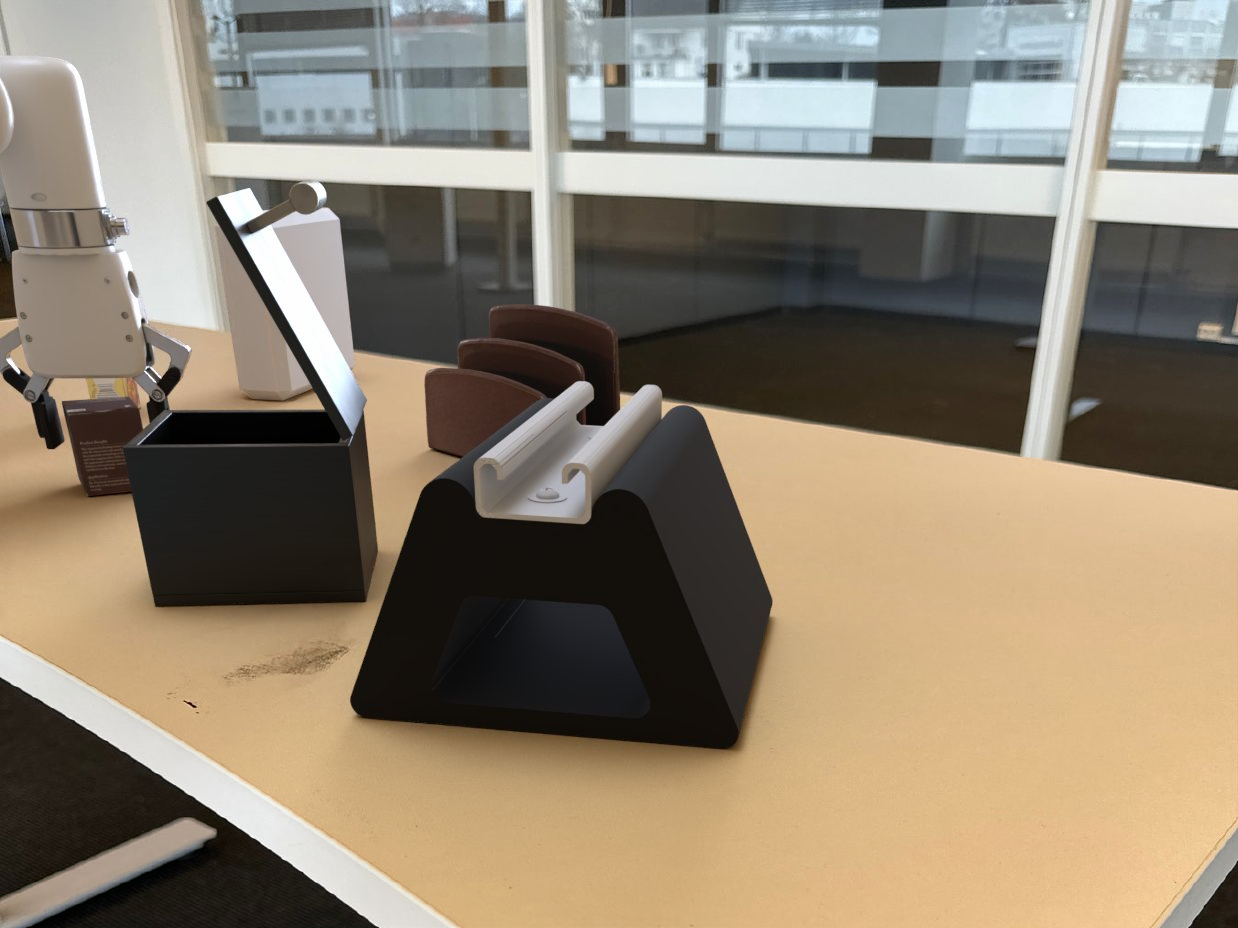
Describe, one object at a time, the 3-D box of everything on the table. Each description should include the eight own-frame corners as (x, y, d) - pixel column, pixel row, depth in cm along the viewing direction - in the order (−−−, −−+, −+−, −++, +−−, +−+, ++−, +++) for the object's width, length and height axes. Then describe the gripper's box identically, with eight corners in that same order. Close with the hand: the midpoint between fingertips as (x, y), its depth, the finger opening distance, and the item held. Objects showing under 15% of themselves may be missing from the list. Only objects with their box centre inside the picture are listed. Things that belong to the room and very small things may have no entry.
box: (147, 476, 117) (131, 395, 113) (156, 491, 113) (140, 407, 109) (78, 482, 115) (60, 399, 111) (85, 497, 110) (66, 412, 106)
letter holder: (500, 436, 135) (494, 295, 128) (623, 468, 124) (623, 316, 116) (426, 449, 129) (414, 302, 122) (548, 484, 118) (543, 324, 110)
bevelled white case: (304, 371, 168) (283, 205, 158) (359, 374, 167) (341, 207, 156) (228, 398, 151) (199, 214, 140) (289, 402, 149) (264, 216, 139)
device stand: (771, 615, 87) (787, 391, 79) (737, 750, 68) (753, 473, 60) (466, 593, 90) (451, 374, 82) (351, 716, 71) (318, 447, 63)
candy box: (132, 421, 138) (102, 270, 130) (92, 422, 137) (60, 270, 129) (142, 406, 146) (114, 262, 138) (104, 407, 145) (74, 262, 137)
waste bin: (154, 606, 86) (122, 447, 80) (190, 553, 97) (163, 409, 91) (366, 601, 88) (348, 445, 82) (378, 550, 98) (363, 408, 93)
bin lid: (205, 201, 74) (288, 156, 73) (239, 192, 84) (312, 152, 84) (342, 441, 82) (419, 402, 81) (358, 404, 93) (426, 370, 92)
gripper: (180, 230, 107) (215, 435, 116) (-30, 228, 105) (22, 437, 114) (161, 236, 101) (199, 453, 110) (-62, 235, 99) (-4, 456, 108)
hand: (109, 445), depth 112 cm, fingers open, 9 cm apart
